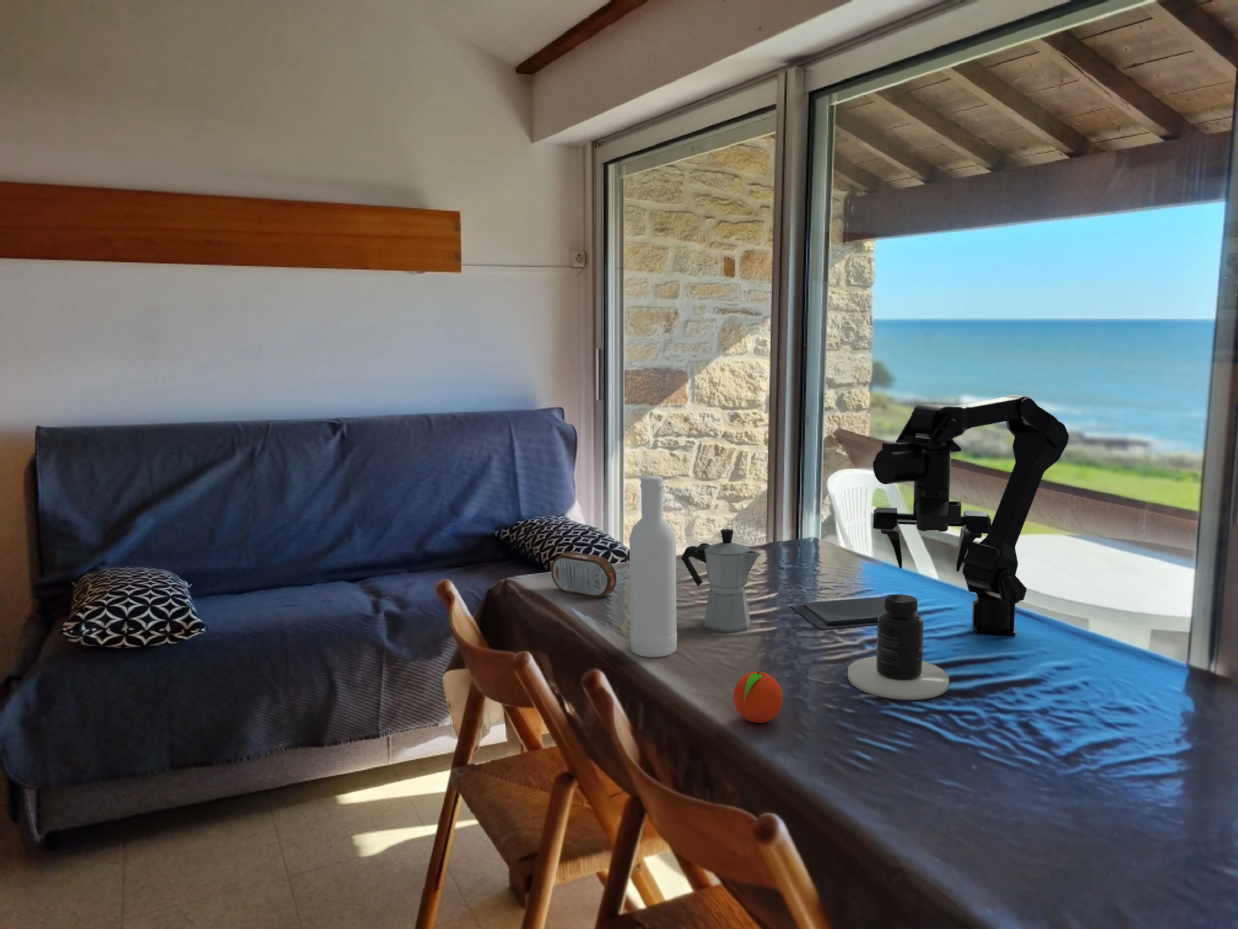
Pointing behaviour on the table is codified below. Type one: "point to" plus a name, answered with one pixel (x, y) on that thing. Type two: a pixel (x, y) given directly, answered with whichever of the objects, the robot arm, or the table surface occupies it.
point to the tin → (583, 574)
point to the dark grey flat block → (842, 613)
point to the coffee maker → (724, 581)
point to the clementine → (758, 697)
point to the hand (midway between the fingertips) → (928, 569)
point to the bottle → (653, 576)
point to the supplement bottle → (899, 639)
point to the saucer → (898, 681)
